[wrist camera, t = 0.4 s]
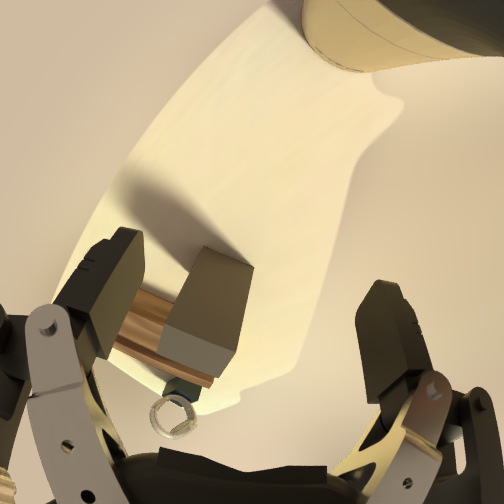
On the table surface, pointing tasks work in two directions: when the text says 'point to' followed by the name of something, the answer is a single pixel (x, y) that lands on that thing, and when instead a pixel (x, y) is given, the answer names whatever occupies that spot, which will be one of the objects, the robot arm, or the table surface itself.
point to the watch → (183, 397)
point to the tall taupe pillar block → (207, 314)
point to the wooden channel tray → (152, 337)
